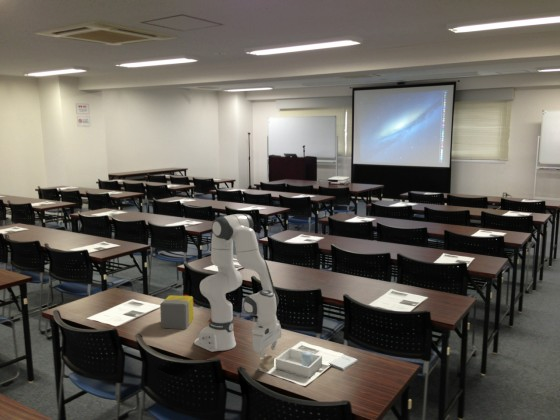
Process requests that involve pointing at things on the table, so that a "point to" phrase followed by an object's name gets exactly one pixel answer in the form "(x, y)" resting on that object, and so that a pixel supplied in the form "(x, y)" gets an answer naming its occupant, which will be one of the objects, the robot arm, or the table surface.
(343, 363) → the external hard drive
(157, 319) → the table surface
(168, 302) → the grey-faced yellow box
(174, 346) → the table surface
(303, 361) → the pale blue cylinder
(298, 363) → the tote
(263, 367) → the maple cube
